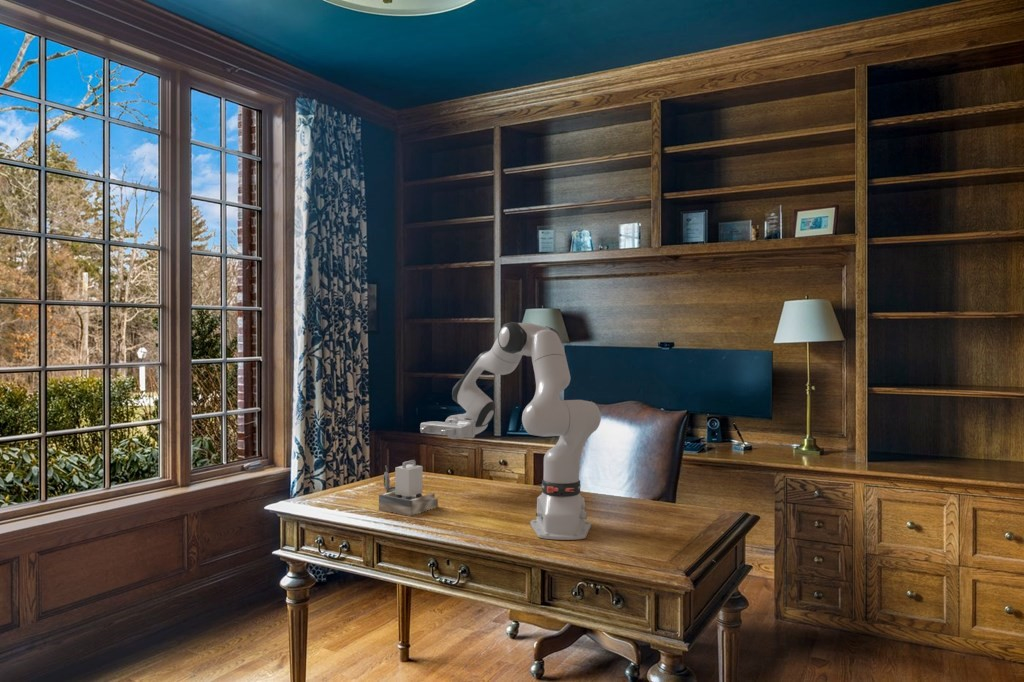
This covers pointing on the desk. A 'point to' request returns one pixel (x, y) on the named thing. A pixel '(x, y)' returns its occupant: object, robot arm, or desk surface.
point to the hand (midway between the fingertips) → (432, 431)
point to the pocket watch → (387, 481)
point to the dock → (407, 503)
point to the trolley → (408, 480)
